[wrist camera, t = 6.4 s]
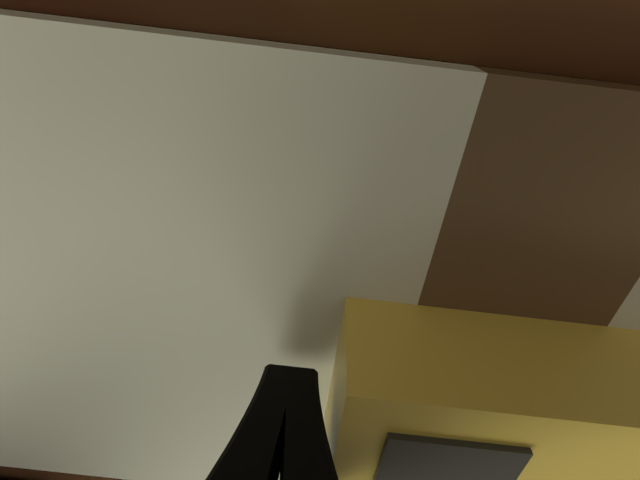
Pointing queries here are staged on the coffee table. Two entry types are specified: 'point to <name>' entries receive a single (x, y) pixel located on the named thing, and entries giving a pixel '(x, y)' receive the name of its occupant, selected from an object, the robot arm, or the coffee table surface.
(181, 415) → the subfloor board
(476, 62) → the coffee table surface
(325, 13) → the coffee table surface
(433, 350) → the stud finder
